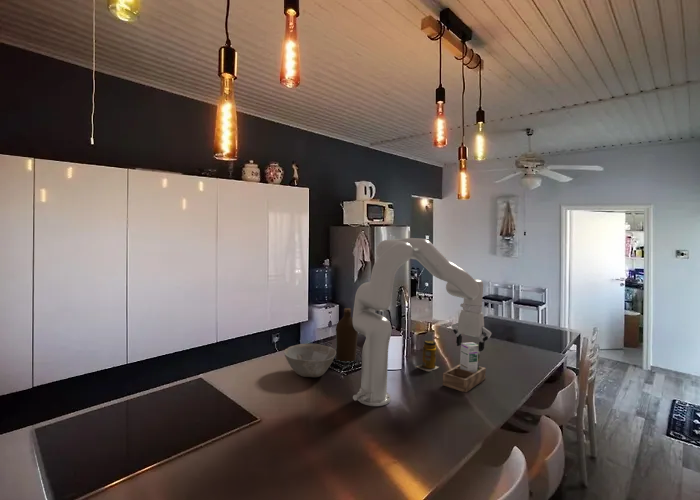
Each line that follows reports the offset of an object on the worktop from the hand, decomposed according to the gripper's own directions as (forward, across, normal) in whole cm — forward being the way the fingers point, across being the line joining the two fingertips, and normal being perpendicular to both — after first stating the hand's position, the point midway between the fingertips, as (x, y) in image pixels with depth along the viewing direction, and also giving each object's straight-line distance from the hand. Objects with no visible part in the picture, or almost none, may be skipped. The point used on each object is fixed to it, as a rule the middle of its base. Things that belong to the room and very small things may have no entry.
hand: (469, 348), depth 162 cm
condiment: (+14, -20, 0) cm, 24 cm away
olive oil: (+15, -52, -21) cm, 58 cm away
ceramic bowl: (+15, -51, -45) cm, 69 cm away
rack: (+14, 0, -4) cm, 14 cm away
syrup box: (+13, 0, 0) cm, 13 cm away
